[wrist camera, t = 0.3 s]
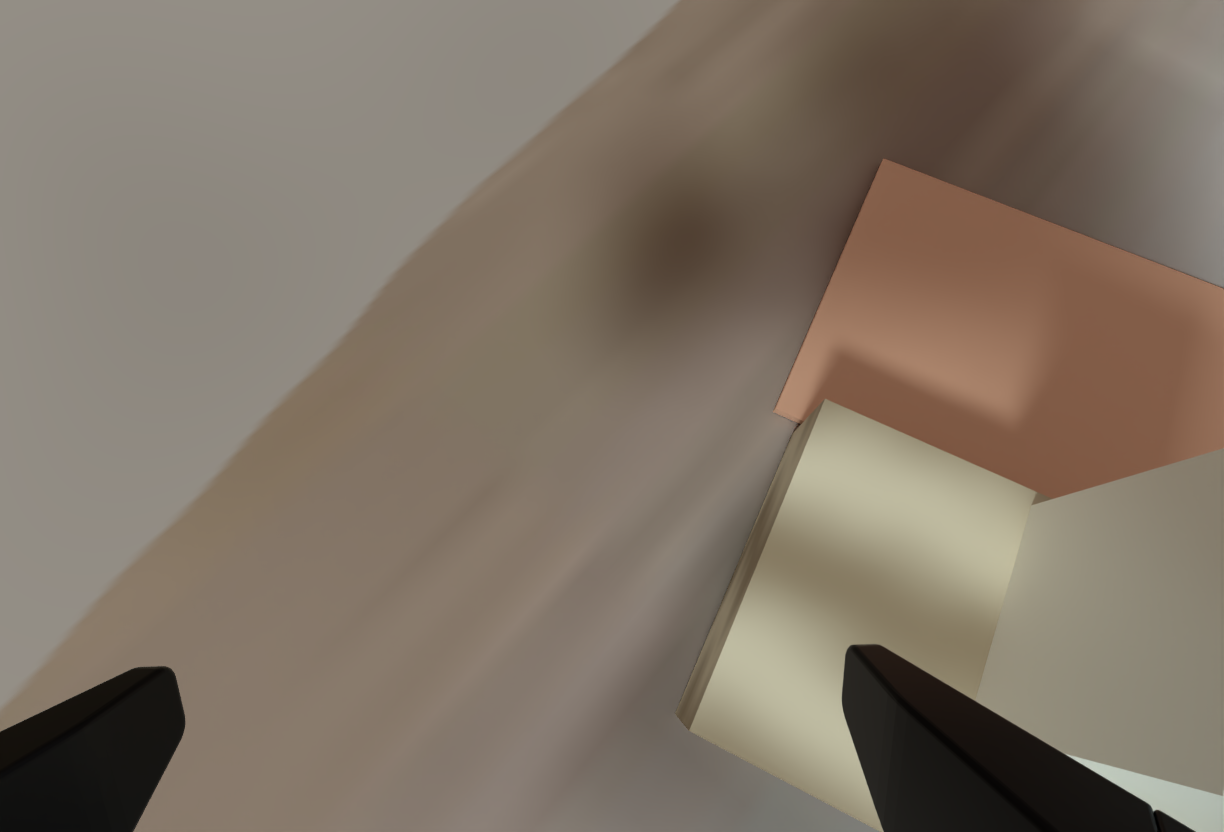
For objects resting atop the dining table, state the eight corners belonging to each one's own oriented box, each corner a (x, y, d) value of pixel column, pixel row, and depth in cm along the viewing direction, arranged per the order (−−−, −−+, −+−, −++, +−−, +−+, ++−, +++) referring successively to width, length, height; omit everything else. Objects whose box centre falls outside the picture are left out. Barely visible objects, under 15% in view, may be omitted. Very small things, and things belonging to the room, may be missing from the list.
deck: (1288, 1035, 19) (1454, 1134, 16) (675, 713, 22) (689, 730, 18) (1333, 678, 23) (1481, 687, 19) (792, 433, 25) (824, 398, 21)
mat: (1365, 677, 23) (1378, 678, 22) (772, 411, 25) (775, 408, 25) (1401, 365, 26) (1413, 361, 26) (880, 164, 29) (883, 158, 29)
